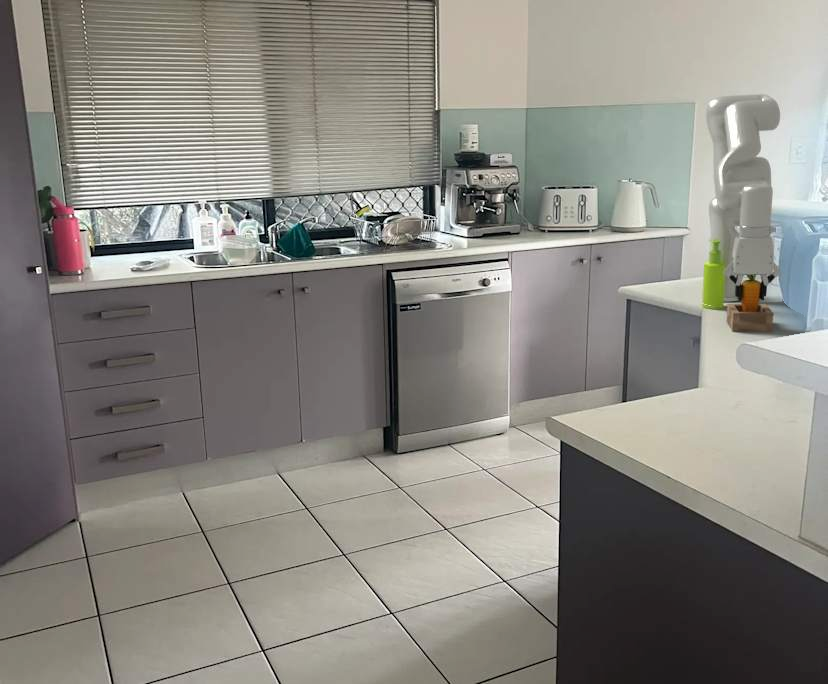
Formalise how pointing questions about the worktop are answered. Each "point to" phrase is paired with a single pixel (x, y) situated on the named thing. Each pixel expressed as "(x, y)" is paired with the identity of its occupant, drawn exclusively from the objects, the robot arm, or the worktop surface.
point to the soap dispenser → (713, 279)
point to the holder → (749, 318)
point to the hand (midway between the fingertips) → (750, 298)
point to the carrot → (750, 294)
